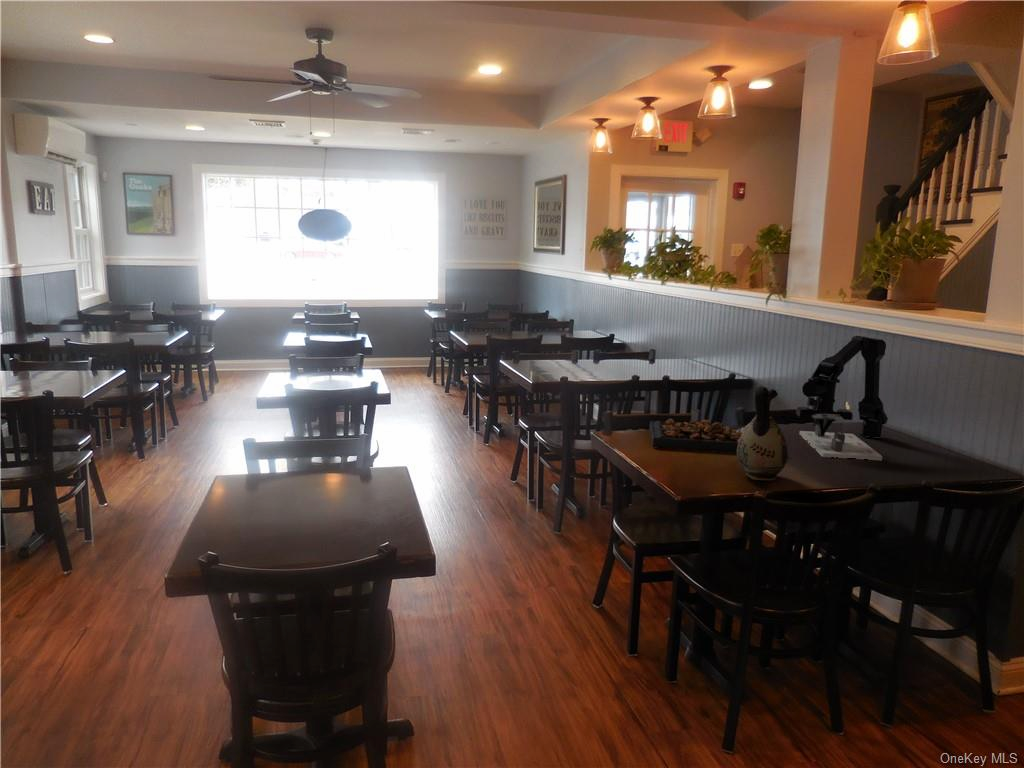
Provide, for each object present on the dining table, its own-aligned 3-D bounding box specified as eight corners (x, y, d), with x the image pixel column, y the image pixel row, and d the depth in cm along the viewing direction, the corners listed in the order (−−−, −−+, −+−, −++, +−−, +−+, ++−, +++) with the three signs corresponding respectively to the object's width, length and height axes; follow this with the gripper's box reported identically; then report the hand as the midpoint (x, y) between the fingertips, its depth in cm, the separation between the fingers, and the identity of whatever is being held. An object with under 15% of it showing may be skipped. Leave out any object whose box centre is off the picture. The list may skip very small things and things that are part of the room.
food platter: (767, 439, 277) (769, 413, 275) (781, 458, 253) (784, 430, 251) (649, 431, 282) (650, 406, 280) (652, 449, 258) (654, 422, 256)
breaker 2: (838, 448, 259) (839, 438, 258) (841, 451, 255) (843, 441, 254) (830, 447, 259) (832, 438, 259) (834, 450, 255) (835, 441, 255)
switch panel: (852, 437, 280) (852, 433, 280) (881, 460, 251) (882, 456, 251) (799, 434, 283) (799, 430, 282) (822, 456, 253) (823, 452, 253)
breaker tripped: (840, 441, 268) (841, 431, 268) (844, 444, 264) (845, 434, 264) (833, 440, 269) (834, 431, 268) (837, 443, 265) (838, 434, 264)
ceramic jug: (745, 466, 240) (753, 378, 234) (791, 476, 231) (802, 385, 225) (724, 478, 227) (733, 386, 221) (773, 489, 218) (783, 393, 212)
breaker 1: (821, 433, 279) (822, 424, 278) (824, 436, 275) (825, 427, 274) (814, 433, 279) (815, 424, 278) (817, 435, 275) (818, 426, 274)
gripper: (845, 391, 271) (840, 431, 274) (794, 389, 273) (789, 428, 276) (855, 398, 260) (850, 439, 263) (802, 395, 262) (797, 436, 265)
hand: (821, 435), depth 267 cm, fingers closed
